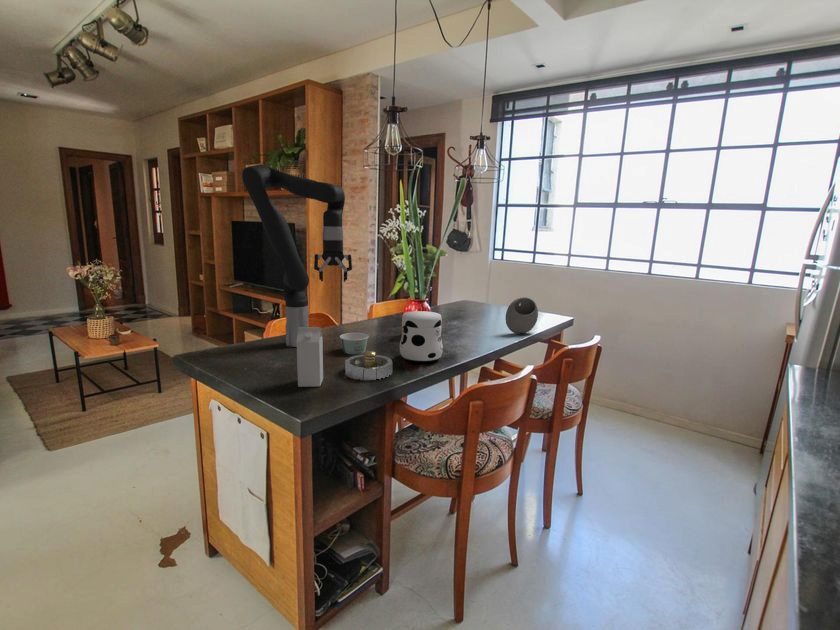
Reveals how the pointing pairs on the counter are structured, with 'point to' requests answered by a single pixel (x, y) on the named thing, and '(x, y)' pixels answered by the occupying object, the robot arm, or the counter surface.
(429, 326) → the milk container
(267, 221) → the robot arm
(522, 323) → the planter
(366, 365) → the brass door knob
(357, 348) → the food container
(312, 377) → the milk carton
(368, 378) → the steel ring
